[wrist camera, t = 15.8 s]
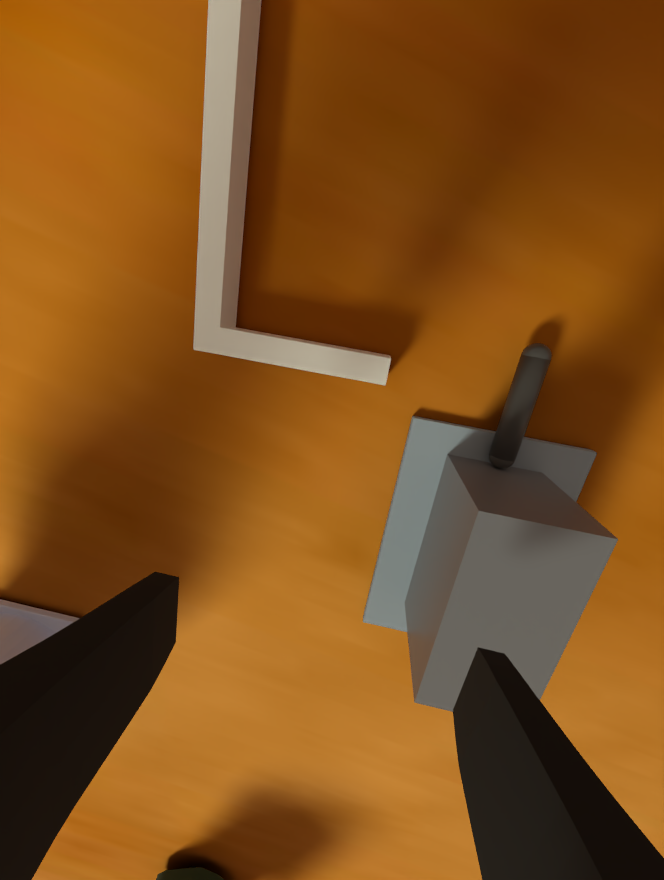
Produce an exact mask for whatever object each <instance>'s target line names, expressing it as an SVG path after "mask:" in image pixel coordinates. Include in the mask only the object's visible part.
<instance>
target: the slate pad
mask: <svg viewBox="0 0 664 880" xmlns="http://www.w3.org/2000/svg"><path fill="white" fill-rule="evenodd" d="M495 434H496V431H491V430H486V429H480V428H475V427H470V426H465V425H459V424H454V423H449V422H444V421H438V420H433V419H428V418H423V417H417V416H412V420H411V424H410V428H409V432H408V436H407V441H406V445H405V449H404V453H403V457H402V461H401V465H400V469H399V473H398V477H397V481H396V485H395V489H394V493H393V497H392V501H391V506H390V510H389V514H388V518H387V522H386V526H385V530H384V534H383V538H382V542H381V546H380V550H379V554H378V558H377V562H376V566H375V571H374V575H373V579H372V583H371V587H370V591H369V595H368V599H367V603H366V607H365V611H364V615H363V622H365V623H370V624H374V625H379V626H383V627H387V628H392V629H396V630H400V631H405V632H407V623H406V613H405V600H406V596H407V593H408V589H409V586H410V582H411V579H412V575H413V572H414V568H415V565H416V561H417V558H418V554H419V551H420V547H421V544H422V540H423V537H424V533H425V530H426V526H427V523H428V520H429V516H430V513H431V509H432V506H433V502H434V499H435V495H436V492H437V488H438V485H439V481H440V478H441V474H442V471H443V467H444V464H445V460H446V457H447V454H449V455H454V456H459V457H464V458H470V459H475V460H480V461H485V462H490V461H489V452H490V449H491V446H492V443H493V440H494V437H495ZM596 454H597V453H596V452H595V451H593V450H590V449H585V448H580V447H575V446H569V445H564V444H559V443H554V442H548V441H543V440H538V439H533V438H527V437H523V440H522V443H521V446H520V449H519V451H518V454H517V457H516V460H515V462H514V464H513V465H512V466H511V467H515V468H521V469H526V470H531V471H536V472H541V473H543V474H544V475H546V476H547V477H548V478H549V479H550V480H551V481H552V482H554V483H555V484H556V485H557V486H558V487H559V488H560V489H561V490H563V491H564V492H565V493H566V494H567V495H568V496H569V497H571V498H572V499H573V500H574V501H575V502H576V501H577V499H578V496H579V494H580V492H581V489H582V487H583V485H584V482H585V480H586V478H587V475H588V473H589V471H590V468H591V466H592V464H593V461H594V459H595V457H596ZM490 463H491V462H490Z"/></svg>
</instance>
